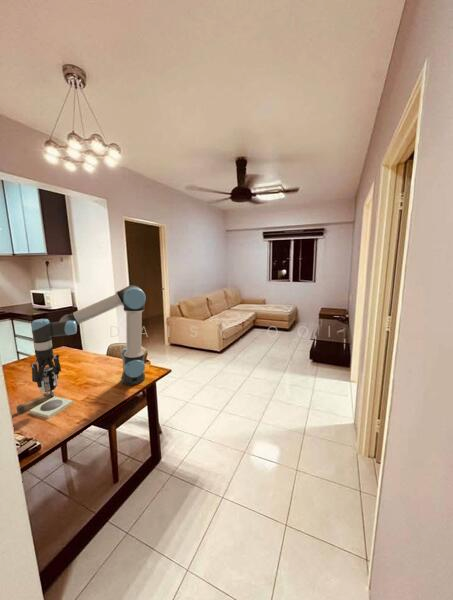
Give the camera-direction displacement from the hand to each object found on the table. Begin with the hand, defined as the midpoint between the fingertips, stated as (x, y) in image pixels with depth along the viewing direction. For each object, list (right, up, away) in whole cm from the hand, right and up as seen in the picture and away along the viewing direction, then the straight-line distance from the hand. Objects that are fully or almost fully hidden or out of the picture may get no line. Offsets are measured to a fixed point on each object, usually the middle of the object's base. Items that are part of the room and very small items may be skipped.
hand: (49, 388), depth 135 cm
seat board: (0, -11, +2) cm, 12 cm away
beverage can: (0, -1, 0) cm, 1 cm away
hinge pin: (-6, -10, +11) cm, 16 cm away
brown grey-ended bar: (-11, -11, +4) cm, 16 cm away
